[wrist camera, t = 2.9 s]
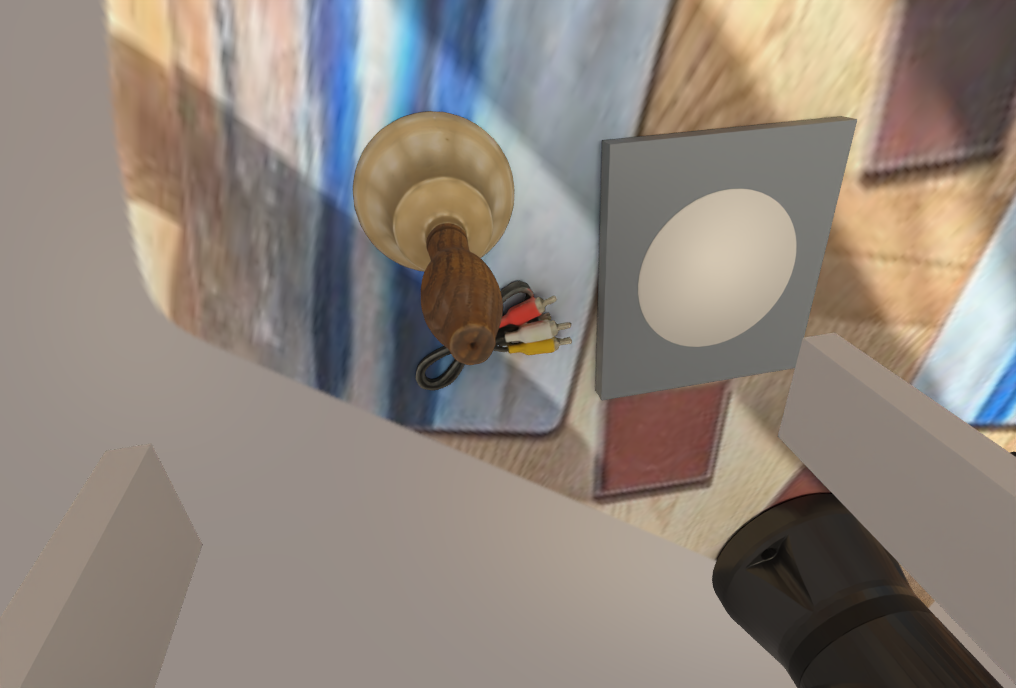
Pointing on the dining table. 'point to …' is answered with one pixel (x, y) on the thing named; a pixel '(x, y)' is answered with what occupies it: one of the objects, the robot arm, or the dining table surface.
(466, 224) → the hand bell
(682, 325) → the board
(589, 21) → the dining table surface
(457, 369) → the composite cable
